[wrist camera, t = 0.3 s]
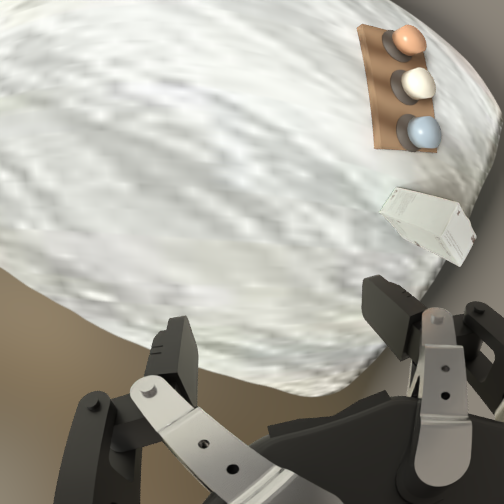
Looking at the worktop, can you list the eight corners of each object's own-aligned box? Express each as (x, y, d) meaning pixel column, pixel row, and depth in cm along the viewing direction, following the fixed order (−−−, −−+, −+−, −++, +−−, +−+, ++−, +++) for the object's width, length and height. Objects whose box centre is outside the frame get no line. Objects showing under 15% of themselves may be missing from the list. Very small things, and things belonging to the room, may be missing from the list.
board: (356, 27, 31) (362, 22, 29) (413, 42, 32) (421, 39, 30) (374, 149, 38) (382, 150, 36) (429, 153, 39) (438, 153, 37)
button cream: (399, 68, 30) (410, 64, 27) (421, 74, 31) (432, 71, 28) (403, 97, 32) (415, 94, 29) (425, 101, 32) (437, 100, 29)
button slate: (406, 115, 33) (418, 113, 30) (427, 119, 33) (440, 118, 30) (408, 146, 34) (420, 147, 32) (430, 148, 35) (442, 149, 32)
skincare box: (377, 212, 42) (437, 237, 28) (396, 184, 41) (459, 199, 27) (404, 239, 44) (460, 270, 30) (421, 214, 43) (479, 236, 29)
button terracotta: (389, 27, 27) (399, 21, 25) (412, 34, 28) (422, 29, 25) (395, 52, 29) (406, 47, 26) (418, 58, 30) (429, 55, 27)
